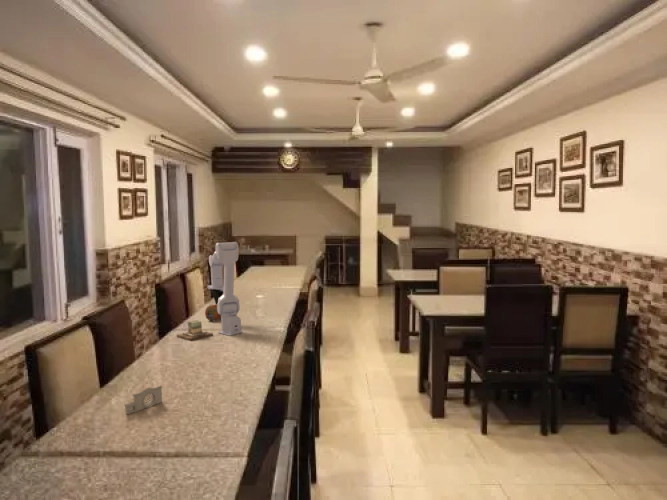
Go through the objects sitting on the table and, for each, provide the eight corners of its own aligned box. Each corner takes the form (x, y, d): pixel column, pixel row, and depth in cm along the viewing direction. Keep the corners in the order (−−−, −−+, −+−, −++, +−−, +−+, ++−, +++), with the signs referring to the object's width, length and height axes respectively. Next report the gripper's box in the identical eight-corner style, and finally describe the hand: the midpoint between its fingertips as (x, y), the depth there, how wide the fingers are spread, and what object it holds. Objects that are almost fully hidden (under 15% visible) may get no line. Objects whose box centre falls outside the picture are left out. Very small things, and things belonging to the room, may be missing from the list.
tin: (208, 322, 264) (207, 306, 263) (204, 321, 265) (203, 306, 265) (230, 316, 275) (229, 301, 275) (226, 316, 277) (225, 301, 277)
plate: (213, 335, 235) (212, 331, 235) (190, 341, 227) (190, 337, 226) (198, 331, 244) (198, 328, 243) (176, 336, 235) (176, 333, 234)
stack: (201, 333, 235) (201, 321, 235) (193, 335, 232) (192, 323, 231) (196, 332, 238) (196, 320, 238) (188, 334, 235) (187, 321, 234)
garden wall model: (127, 415, 146) (125, 396, 146) (124, 414, 148) (122, 394, 147) (163, 402, 156) (162, 384, 155) (160, 401, 157) (159, 382, 156)
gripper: (202, 278, 259) (203, 303, 260) (218, 280, 249) (219, 306, 251) (213, 276, 264) (215, 301, 266) (230, 278, 255) (231, 304, 256)
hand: (218, 304), depth 258 cm, fingers closed
